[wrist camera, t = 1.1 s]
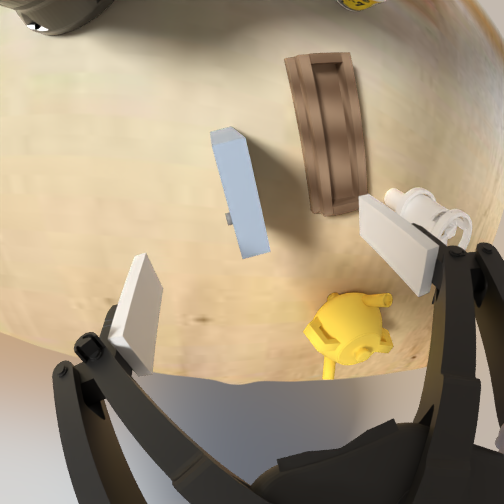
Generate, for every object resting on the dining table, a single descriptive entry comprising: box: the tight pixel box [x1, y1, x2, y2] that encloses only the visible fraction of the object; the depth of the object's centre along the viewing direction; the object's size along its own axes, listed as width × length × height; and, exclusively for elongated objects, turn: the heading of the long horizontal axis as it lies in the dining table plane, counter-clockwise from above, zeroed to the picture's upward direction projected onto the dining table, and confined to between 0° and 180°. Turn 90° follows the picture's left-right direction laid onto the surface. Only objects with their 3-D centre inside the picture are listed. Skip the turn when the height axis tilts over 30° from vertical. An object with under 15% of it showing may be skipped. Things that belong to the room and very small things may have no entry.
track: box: [284, 53, 368, 216], centre depth 30 cm, size 20×8×3 cm, turn 12°
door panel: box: [210, 127, 271, 259], centre depth 27 cm, size 10×3×12 cm, turn 12°
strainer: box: [384, 187, 472, 250], centre depth 31 cm, size 7×7×15 cm
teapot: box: [303, 293, 393, 379], centre depth 42 cm, size 20×18×11 cm
